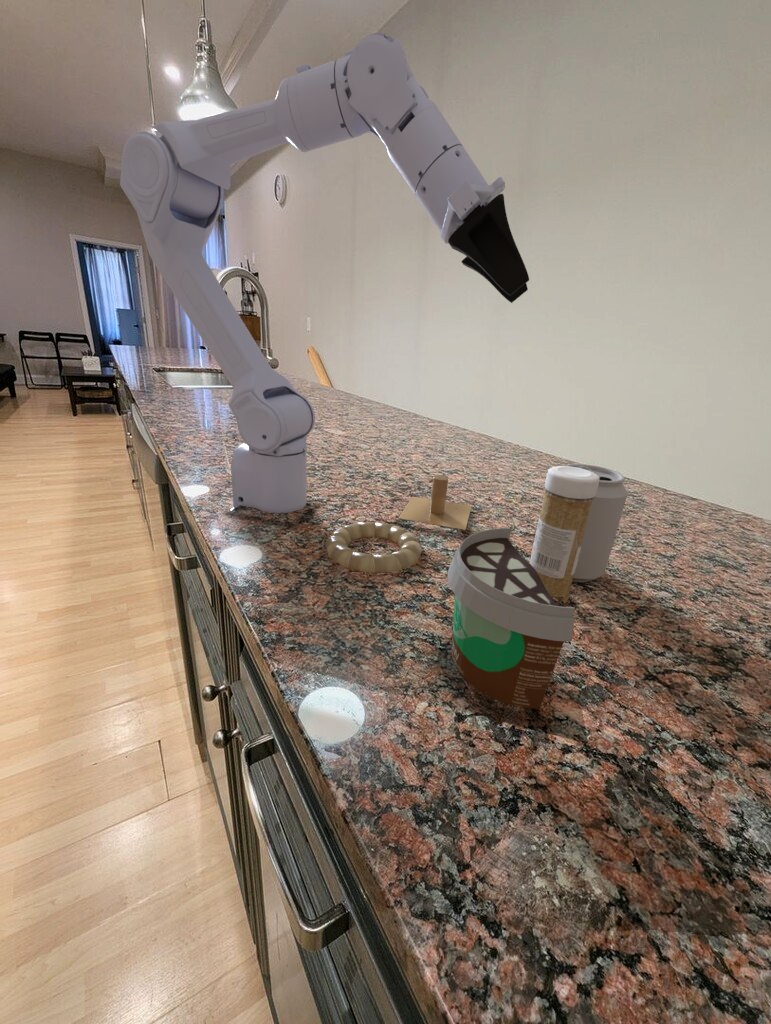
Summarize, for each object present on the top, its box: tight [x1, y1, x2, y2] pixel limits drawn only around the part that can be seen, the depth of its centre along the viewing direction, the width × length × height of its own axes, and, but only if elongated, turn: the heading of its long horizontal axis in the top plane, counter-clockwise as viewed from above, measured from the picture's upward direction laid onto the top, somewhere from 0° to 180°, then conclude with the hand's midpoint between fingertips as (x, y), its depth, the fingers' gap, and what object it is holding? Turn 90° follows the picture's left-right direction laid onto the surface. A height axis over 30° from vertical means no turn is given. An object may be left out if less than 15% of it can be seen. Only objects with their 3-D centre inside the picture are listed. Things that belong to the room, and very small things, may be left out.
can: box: [564, 463, 629, 583], centre depth 50 cm, size 8×8×12 cm
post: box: [398, 475, 473, 531], centre depth 62 cm, size 9×9×6 cm
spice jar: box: [529, 465, 600, 605], centre depth 44 cm, size 5×5×13 cm
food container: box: [447, 527, 576, 710], centre depth 33 cm, size 12×6×10 cm, turn 5°
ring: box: [324, 521, 423, 574], centre depth 51 cm, size 11×11×2 cm
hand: (519, 292), depth 44 cm, fingers open, 7 cm apart
